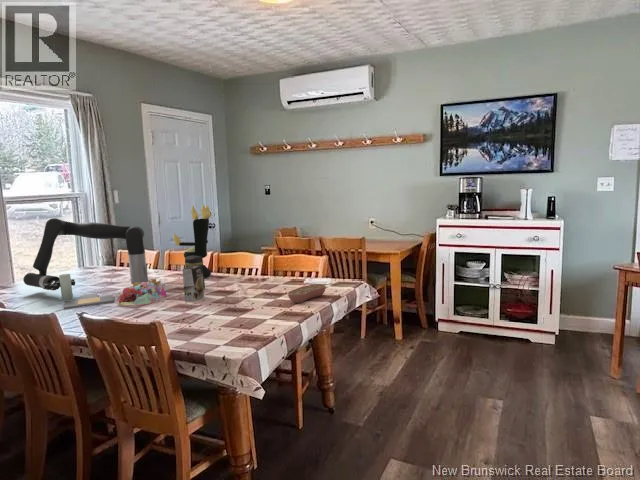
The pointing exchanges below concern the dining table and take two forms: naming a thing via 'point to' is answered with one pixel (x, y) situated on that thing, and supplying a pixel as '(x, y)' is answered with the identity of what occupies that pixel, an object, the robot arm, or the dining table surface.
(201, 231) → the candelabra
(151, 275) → the dining table surface
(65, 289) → the grey-green rectangular block
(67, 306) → the t board
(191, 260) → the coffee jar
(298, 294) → the brown planter trough
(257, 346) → the dining table surface
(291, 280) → the dining table surface
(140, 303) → the candy landscape model
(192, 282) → the coffee box
